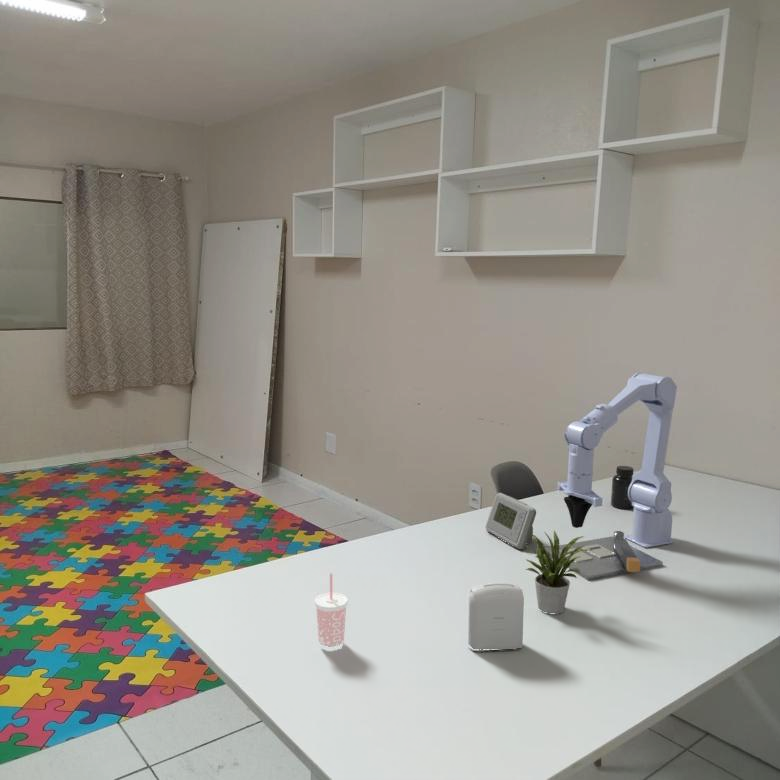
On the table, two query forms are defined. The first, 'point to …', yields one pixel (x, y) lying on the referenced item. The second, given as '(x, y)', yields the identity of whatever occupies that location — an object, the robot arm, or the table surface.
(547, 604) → the house plant
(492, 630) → the photo printer
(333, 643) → the beverage cup
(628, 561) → the swing bar
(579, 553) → the grey lever board
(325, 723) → the table surface
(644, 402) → the robot arm
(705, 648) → the table surface
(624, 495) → the supplement bottle
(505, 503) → the digital clock
